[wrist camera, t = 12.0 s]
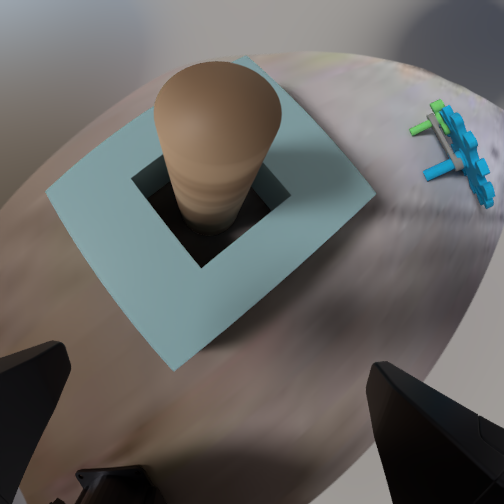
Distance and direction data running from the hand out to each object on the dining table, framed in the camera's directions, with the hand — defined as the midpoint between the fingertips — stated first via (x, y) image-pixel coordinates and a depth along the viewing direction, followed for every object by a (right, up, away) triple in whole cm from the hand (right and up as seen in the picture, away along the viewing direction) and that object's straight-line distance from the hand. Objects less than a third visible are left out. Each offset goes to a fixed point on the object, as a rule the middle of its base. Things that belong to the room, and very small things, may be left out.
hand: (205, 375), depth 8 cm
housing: (-2, +6, +13) cm, 15 cm away
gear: (+20, +12, +18) cm, 29 cm away
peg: (-2, +6, +13) cm, 15 cm away
